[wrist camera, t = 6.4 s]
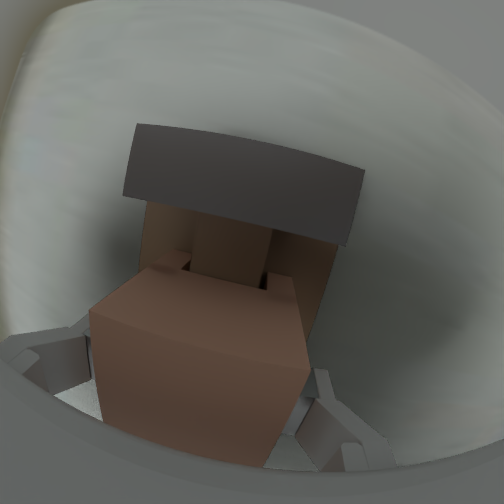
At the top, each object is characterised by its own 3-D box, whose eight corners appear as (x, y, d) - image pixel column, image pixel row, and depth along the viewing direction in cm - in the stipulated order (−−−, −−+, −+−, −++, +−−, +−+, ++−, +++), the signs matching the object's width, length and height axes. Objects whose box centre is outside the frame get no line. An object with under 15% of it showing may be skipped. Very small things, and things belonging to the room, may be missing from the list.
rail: (247, 465, 16) (241, 518, 11) (144, 438, 16) (122, 486, 11) (347, 182, 11) (398, 182, 6) (167, 142, 11) (107, 121, 6)
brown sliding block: (262, 372, 12) (255, 478, 6) (161, 346, 12) (106, 435, 7) (291, 277, 11) (311, 370, 5) (172, 248, 11) (88, 309, 5)
